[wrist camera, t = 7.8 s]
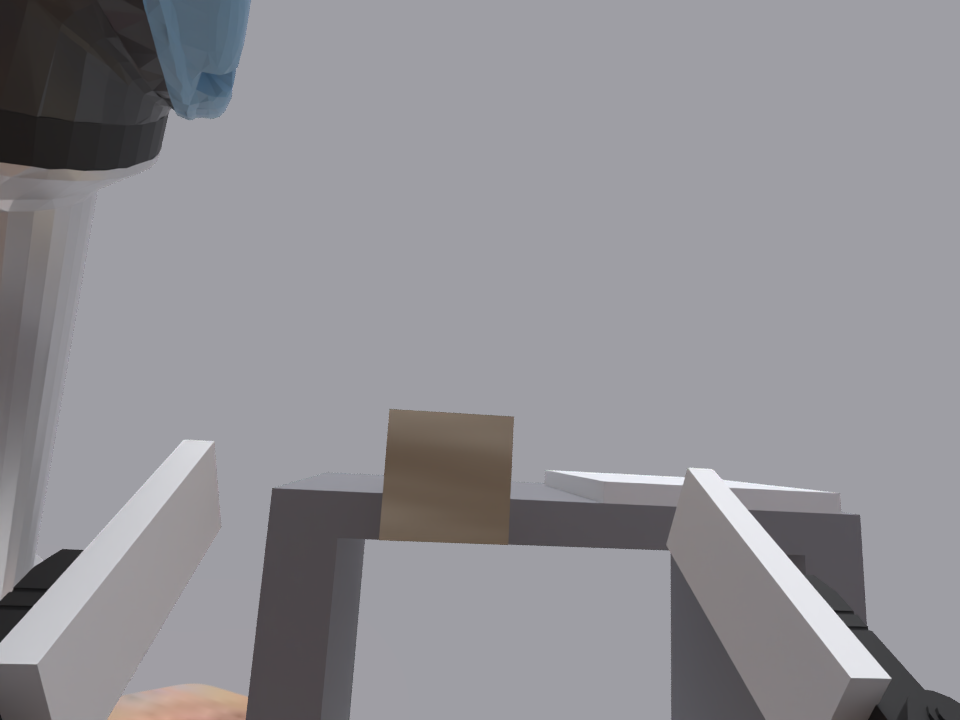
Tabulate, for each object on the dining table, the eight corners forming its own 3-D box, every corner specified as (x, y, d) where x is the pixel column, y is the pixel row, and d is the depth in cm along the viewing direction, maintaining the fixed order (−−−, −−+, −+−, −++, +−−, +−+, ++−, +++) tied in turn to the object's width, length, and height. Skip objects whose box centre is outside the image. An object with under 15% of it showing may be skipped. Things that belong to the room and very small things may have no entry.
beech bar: (508, 545, 13) (514, 416, 13) (378, 539, 12) (389, 409, 13) (447, 476, 40) (449, 436, 41) (406, 474, 40) (410, 434, 40)
